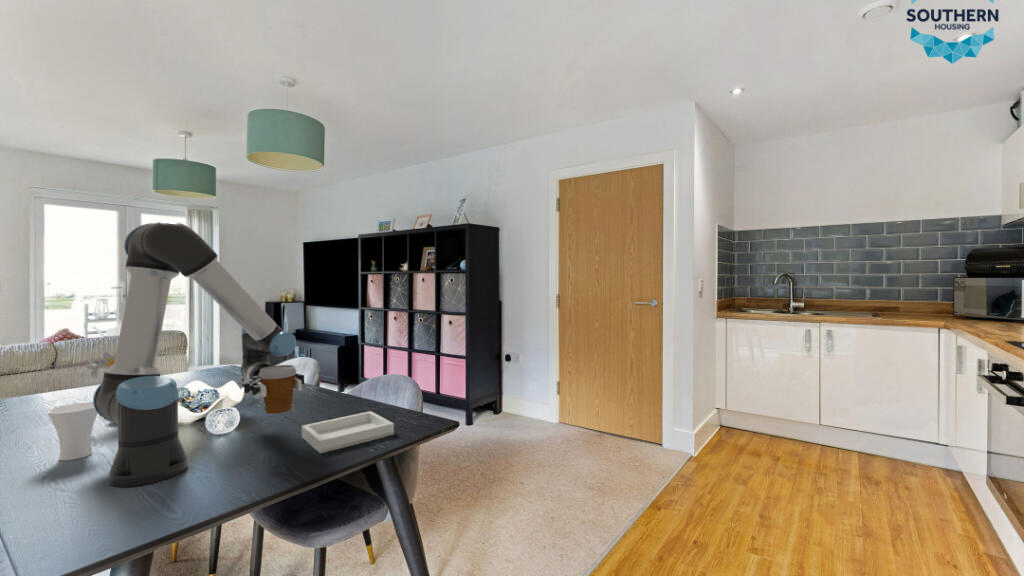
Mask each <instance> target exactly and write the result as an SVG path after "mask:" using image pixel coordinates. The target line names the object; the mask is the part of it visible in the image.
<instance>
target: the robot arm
mask: <svg viewBox="0 0 1024 576" xmlns="http://www.w3.org/2000/svg"><path fill="white" fill-rule="evenodd" d="M123 247H124V252H125V253H126V256H127V257H126V258H127V259H126V263H125V269H126V270H127V272H129V274H130V275H131V276H130V280H129V281H130V282H129V285H128V290H127V295H126V301H125V306H124V311H123V315H122V321H121V326H120V331H119V335H118V340H117V346H116V350H115V352H116V356H115V361H114V364H113V365H112V366H111V367H109V368H108V369H107V368H106V369H104V373H103V377H102V382H101V383H100V384H99V385H98V386H97V388H96V389H95V391H94V394H93V397H92V402H93V405H94V408H95V410H96V411H97V415H99V416H100V417H102V418H103V419H104V420H105V421H108V422H111V423H114V424H116V425H117V443H118V444H117V445H118V448H117V451H116V453H115V454H116V455H115V456H114V460H113V462H112V464H111V468H110V470H109V473H108V474H109V475H108V476H109V477H108V479H109V480H108V481H109V484H110V485H111V486H112V487H113V486H114V487H118V488H131V487H140V486H144V485H150V484H154V483H156V482H161V481H164V480H168V479H169V478H172V477H174V476H176V475H179V474H180V473H182V472H183V471H184V470H186V469H187V468H188V464H189V463H188V461H189V460H188V455H187V453H186V451H185V449H184V447H183V443H182V442H181V440H180V437H179V408H178V407H179V402H178V400H179V399H178V398H179V391H178V385H177V382H176V380H175V379H173V378H171V377H168V376H162V375H161V374H162V373H161V371H160V369H159V368H157V366H156V364H157V363H156V362H157V356H158V351H159V345H160V341H161V336H162V330H163V325H164V319H165V314H166V309H167V303H168V298H169V293H170V287H171V283H172V280H173V279H174V278H176V277H178V276H180V274H181V275H182V276H184V277H185V278H191V279H192V280H193V281H194V282H195V283H196V284H197V285H199V287H201V289H202V290H203V291H204V292H206V294H207V295H209V297H211V299H213V301H215V302H216V303H217V304H218V306H220V308H222V309H223V310H224V311H225V313H226V314H228V315H229V316H230V317H231V318H232V320H234V321H235V322H236V323H237V324H238V325H239V326H240V327H241V334H240V335H241V346H242V347H241V348H242V363H241V365H240V373H241V375H242V377H241V387H243V389H244V393H245V394H249V393H250V391H252V393H251V394H252V395H253V396H257V395H258V394H259V395H260V396H262V398H264V397H266V386H265V385H264V384H262V383H261V379H260V377H259V375H258V374H259V373H260V369H262V368H265V367H270V366H273V365H272V364H270V356H275V357H285V356H289V355H290V354H292V353H293V351H295V349H296V347H297V340H296V337H295V335H294V334H293V333H291V332H288V331H286V330H283V329H282V328H281V327H280V326H279V324H277V322H275V320H274V319H273V318H271V316H269V314H268V313H267V312H266V311H265V310H264V308H262V307H261V305H259V304H258V302H257V301H255V299H254V298H253V297H252V296H251V295H250V294H249V292H248V291H246V289H245V288H243V286H242V285H241V284H240V283H239V282H238V281H237V280H236V279H235V278H234V277H233V275H231V274H230V272H229V271H228V270H227V269H226V268H225V267H224V266H223V265H222V264H221V262H219V260H218V258H219V255H218V254H217V252H216V251H215V250H214V249H213V248H212V247H211V246H210V245H209V244H208V243H207V242H206V240H204V239H203V238H202V237H201V236H200V235H199V234H198V233H197V232H196V231H194V230H193V229H192V228H191V227H189V226H187V225H185V224H183V223H181V222H178V221H173V220H164V221H163V220H162V221H157V222H150V223H149V222H148V223H145V224H141V225H138V226H137V227H136V228H133V229H132V230H131V231H130V232H128V234H127V235H126V237H125V240H124V246H123ZM155 363H156V364H155ZM304 384H305V375H304V374H300V373H297V372H296V374H295V378H294V388H293V389H295V390H296V391H298V392H302V390H303V387H302V385H304Z"/></svg>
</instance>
